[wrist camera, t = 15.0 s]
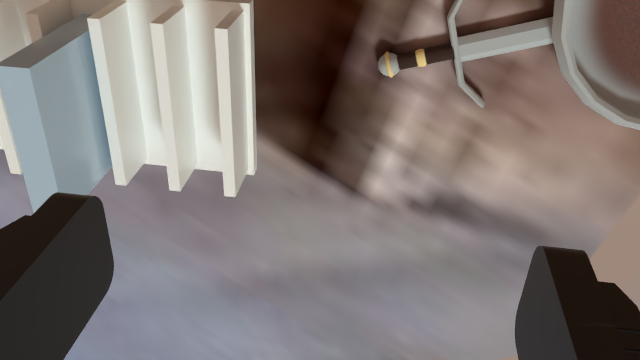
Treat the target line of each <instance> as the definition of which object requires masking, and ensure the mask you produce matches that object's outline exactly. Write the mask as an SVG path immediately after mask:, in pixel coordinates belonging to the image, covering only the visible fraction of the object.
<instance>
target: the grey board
mask: <svg viewBox="0 0 640 360" xmlns="http://www.w3.org/2000/svg"><path fill="white" fill-rule="evenodd" d="M91 15H92V14H81V15H80V16H78V17H76V18H74V19H73V20H71V21H69V22H68V23H66V24H64V25H62V26H61V27H59V28H57V29H56V30H54V31H52V32H50V33H49V34H47V35H45V36H44V37H42V38H40V39H39V40H37V41H35V42H33V43H32V44H30V45H28V46H27V47H25V48H23V49H21V50H20V51H18V52H16V53H15V54H13V55H11V56H9V57H8V58H6V59H4V60H3V61H1V62H0V89H1V93H2V97H3V100H4V104H5V108H6V112H7V115H8V119H9V123H10V127H11V130H12V134H13V138H14V141H15V145H16V149H17V153H18V156H19V160H20V164H21V168H22V171H23V175H24V179H25V183H26V186H27V190H28V194H29V197H30V201H31V205H32V209H33V212H34V213H35V212H36V211H37V209H38V208H39V207H40V206H41V205H42V204H43V203H44V202H45V201H46V200H47V199H48V198H49V197H50V196H51V195H52V194H54V193H57V192H61V193H70V194H80V195H88V194H89V193H90V192H91V190H92V189H93V188H94V187H95V186H96V185H97V184H98V182H99V181H100V180H101V179H102V178H103V177H104V176H105V174H106V173H107V172H108V171H109V170H110V169H111V167H112V160H111V155H110V149H109V143H108V137H107V131H106V126H105V120H104V114H103V108H102V103H101V97H100V91H99V85H98V79H97V74H96V68H95V62H94V56H93V50H92V45H91V39H90V33H89V27H88V21H87V18H88V17H90V16H91Z"/></svg>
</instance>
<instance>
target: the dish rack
mask: <svg viewBox="0 0 640 360" xmlns="http://www.w3.org/2000/svg"><path fill="white" fill-rule="evenodd" d="M81 14H92V15H91V16H90V17H88V18H87V21H88V27H89V33H90V39H91V45H92V50H93V56H94V62H95V68H96V74H97V79H98V85H99V91H100V97H101V103H102V108H103V114H104V120H105V126H106V131H107V137H108V143H109V149H110V155H111V160H112V166H113V172H114V178H115V184H116V185H127V184H128V183H129V182H130V180H131V179H132V178H133V176H134V175H135V174H136V173H137V171H138V170H139V169H140V168H141V166H142V165H143V164H153V165H163V166H167V173H168V182H169V190H173V191H181V190H182V188H183V186H184V185H185V183H186V182H187V180H188V178H189V177H190V175H191V174H192V172H193V170H194V169H202V170H212V171H221V172H223V182H224V196H229V197H236V195H237V193H238V191H239V188H240V186H241V184H242V182H243V180H244V178H245V176H246V174H251V175H254V174H255V172H256V170H257V144H256V101H255V58H254V16H253V0H0V62H1V61H3V60H4V59H6V58H8V57H9V56H11V55H13V54H15V53H16V52H18V51H20V50H21V49H23V48H25V47H27V46H28V45H30V44H32V43H33V42H35V41H37V40H39V39H40V38H42V37H44V36H45V35H47V34H49V33H50V32H52V31H54V30H56V29H57V28H59V27H61V26H62V25H64V24H66V23H68V22H69V21H71V20H73V19H74V18H76V17H78V16H80V15H81ZM0 149H4V151H5V154H6V158H7V161H8V165H9V169H10V172H11V173H12V174H22V173H23V171H22V168H21V164H20V160H19V156H18V153H17V149H16V145H15V141H14V138H13V134H12V130H11V127H10V123H9V119H8V115H7V112H6V108H5V104H4V100H3V97H2V93H1V89H0Z"/></svg>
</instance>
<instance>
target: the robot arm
mask: <svg viewBox="0 0 640 360" xmlns="http://www.w3.org/2000/svg"><path fill="white" fill-rule="evenodd" d="M113 270H114V261H113V255H112V250H111V244H110V239H109V234H108V229H107V223H106V218H105V213H104V208H103V204H102V202H101V200H100V199H99V198H98V197H96V196H89V195H80V194H70V193H61V192H57V193H54V194H52V195H51V196H50V197H49V198H48V199H47V200H46V201H45V202H44V203H43V204H42V205H41V206H40V207H39V208H38V209H37V211H36V212H35V213H34V214H33V215H32V216H27V215H25V216H23V217H21V218H20V219H18V220H16V221H14V222H12V223H11V224H9V225H7V226H5V227H4V228H2V229H0V360H63V359H64V358H65V356H66V355H67V353H68V352H69V350H70V349H71V347H72V346H73V344H74V343H75V341H76V339H77V338H78V336H79V335H80V333H81V332H82V330H83V329H84V327H85V326H86V324H87V322H88V321H89V319H90V318H91V316H92V315H93V313H94V312H95V310H96V309H97V307H98V306H99V304H100V302H101V301H102V299H103V298H104V296H105V295H106V293H107V291H108V289H109V287H110V284H111V281H112V277H113ZM515 342H516V348H517V353H518V358H519V360H640V311H639V309H638V307H637V306H636V305H635V304H634V303H633V302H632V301H631V300H630V299H629V298H628V296H627V295H626V294H625V293H624V292H623V291H622V290H621V289H620V288H619V287H618V286H617V285H616V284H614V283H608V282H607V283H606V282H598V281H597V278H596V276H595V273H594V271H593V268H592V266H591V264H590V261H589V258H588V256H587V254H586V253H585V251H583V250H575V249H566V248H556V247H547V246H538V247H537V248H536V250H535V252H534V254H533V257H532V261H531V264H530V267H529V271H528V274H527V278H526V281H525V285H524V288H523V292H522V295H521V299H520V302H519V306H518V309H517V314H516V321H515Z"/></svg>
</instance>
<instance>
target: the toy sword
mask: <svg viewBox="0 0 640 360" xmlns="http://www.w3.org/2000/svg"><path fill="white" fill-rule="evenodd" d="M462 1H463V0H455V1H454V3H453V5H452V7H451V9H450V11H449V13H448V15H447V21H448V27H449V33H450V39H451V44H448V45H443V46H439V47H434V48H429V49H418V50H416V51H415V52H411V53H406V54H401V55H396V54H393V53H389V52H386V53H385V54H384V55H382V56H381V58H380V59H379V62H378V68H379V70H380V72H381V73H382V74H384V75H386V76H389V77H393V75H395V74H397V73H398V72H399V70H402V69H406V68H411V67H416V66H418V67H423V66H426V65H427V64H431V63H435V62H440V61H445V60H450V59H454V63H455V69H456V75H457V81H458V85H459V86H460V87H461V88H462V89H463V90H464V91H465V92H466V93H467V94H468V95H469V96H470V97H471V98H472V99H473V100H474V101H475V102H476V103H477V104H478V105H479V106H480V107H484V104H485V103H484V100H483V99H482V98H481V97H480V96H479V95H478V94H477V93H476V92H475V91H474V90H473V89H472V88H471V87H470V86H469V85H468V84H467V83H466V82H465V81H464V76H463V70H462V64H461V62H464V61H468V60H473V59H478V58H483V57H488V56H493V55H498V54H503V53H508V52H512V51H517V50H522V49H527V48H532V47H537V46H542V45H547V44H551V43H554V47H555V51H556V55H557V58H558V62H559V66H560V70H561V74H562V75H563V76H564V78H565V79H566V80H567V82H568V83H569V84H570V86H571V87H572V88H573V90H574V91H575V92H576V94H577V95H578V96H579V98H580V99H581V100H582V102H583V103H584V104H585V105H587V106H589V107H590V108H592V109H593V110H595V111H596V112H598V113H600V114H601V115H603V116H604V117H606V118H607V119H609V120H611V121H612V122H614V123H615V124H618V125H622V126H626V127H630V128H634V129H638V130H640V0H555V2H554V13H553V17H550V18H545V19H541V20H536V21H531V22H527V23H522V24H518V25H513V26H508V27H504V28H499V29H494V30H490V31H485V32H480V33H476V34H471V35H467V36H462V37H457V32H456V26H455V20H454V17H455V15H456V13H457V11H458V9H459V7H460V5H461V3H462Z"/></svg>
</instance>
